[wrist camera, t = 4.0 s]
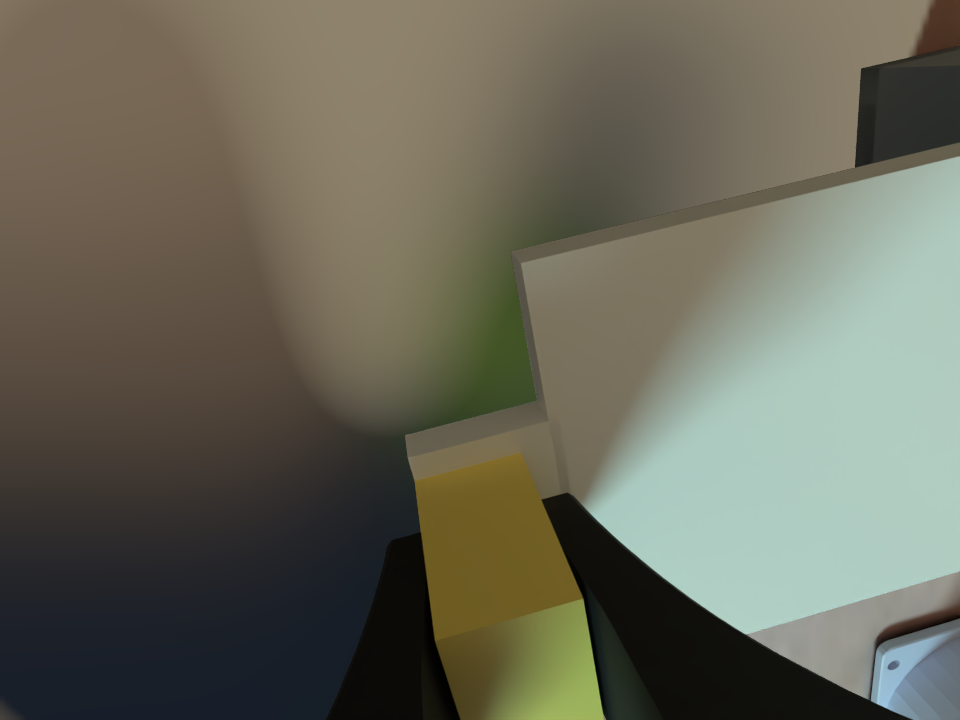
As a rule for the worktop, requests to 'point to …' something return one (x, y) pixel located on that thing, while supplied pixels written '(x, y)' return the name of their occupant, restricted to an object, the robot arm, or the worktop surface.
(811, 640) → the worktop surface
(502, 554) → the lid
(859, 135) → the tub
